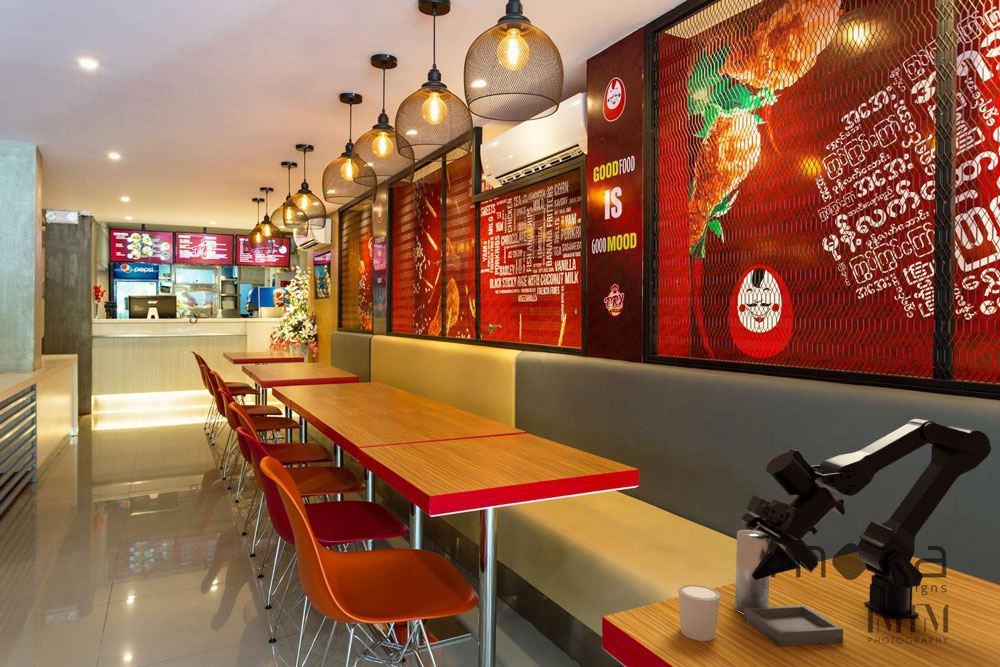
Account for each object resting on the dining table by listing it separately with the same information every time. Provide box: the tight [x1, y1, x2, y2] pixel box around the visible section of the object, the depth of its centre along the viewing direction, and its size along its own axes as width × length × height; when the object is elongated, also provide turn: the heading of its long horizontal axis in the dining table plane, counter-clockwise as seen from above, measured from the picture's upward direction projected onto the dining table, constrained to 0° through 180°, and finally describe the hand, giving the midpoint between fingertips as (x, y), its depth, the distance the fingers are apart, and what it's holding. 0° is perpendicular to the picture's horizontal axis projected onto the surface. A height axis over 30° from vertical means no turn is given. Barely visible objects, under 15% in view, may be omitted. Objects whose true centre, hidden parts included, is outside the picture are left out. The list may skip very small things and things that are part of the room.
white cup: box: [677, 584, 721, 642], centre depth 108 cm, size 7×7×7 cm
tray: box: [743, 604, 844, 647], centre depth 111 cm, size 12×10×2 cm
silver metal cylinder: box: [734, 529, 771, 614], centre depth 119 cm, size 6×6×14 cm
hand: (745, 571), depth 119 cm, fingers closed on silver metal cylinder, 6 cm apart
